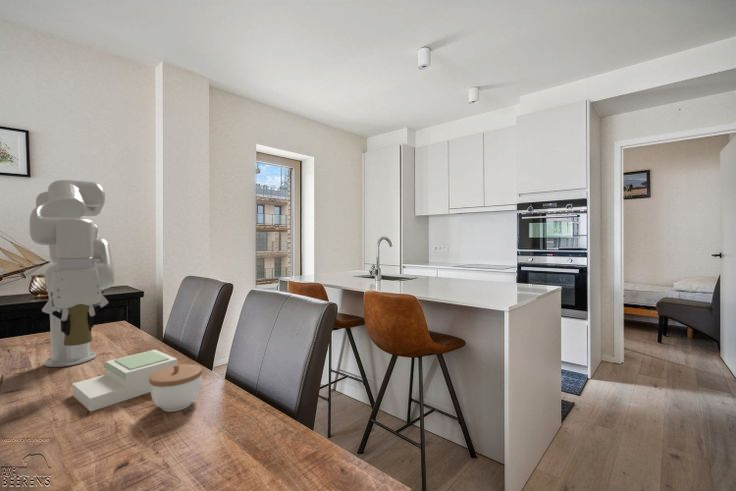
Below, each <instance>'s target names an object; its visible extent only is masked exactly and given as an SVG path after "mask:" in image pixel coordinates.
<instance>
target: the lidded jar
mask: <svg viewBox="0 0 736 491" xmlns="http://www.w3.org/2000/svg"><path fill="white" fill-rule="evenodd" d="M202 374H203V368H202V366H200V365H198V364H187V363H185V364H178V365H174V366H171V367H167V368H164V369H161V370H158V371H156V372H154V373H153V374H152V375H151V376H150V377H149V383H150V391H151V392H150V395H151V399H152V401H153V402H154V404H155V405H156V406H157V407H158V408H160V409H161V410H162V411H163V412H168V413H169V412H170V413H171V412H178V411H182V410H184V409H187V408H189V407H190V406H191V405H192V403H193V402H194V401H195V399H197V397H198V395H199V393H200V392H201V391H200V390H201V387H202V377H203V375H202Z"/></svg>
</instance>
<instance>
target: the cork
mask: <svg viewBox="0 0 736 491" xmlns="http://www.w3.org/2000/svg"><path fill="white" fill-rule="evenodd" d="M88 311H89V306H88V305H85V304H78V305H75V306H73V307H71V308H69V309H68V320H70V333H69V335H65V338H64V345H66V346H75V345H81V344H86V343H89V342H90V343H92V341H93V340H94V339H93V334H92V330H91V331H90V330H89V325H88Z"/></svg>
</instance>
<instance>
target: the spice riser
mask: <svg viewBox="0 0 736 491" xmlns="http://www.w3.org/2000/svg"><path fill="white" fill-rule="evenodd" d="M174 365H179V364H178V358H176V357H174V356H171V355H169V354H167V353H164V352H162V351H159V350H157V349H151V350H148V351H144V352H140V353H134V354H131V355H126V356H122V357H119V358H115V359H110V360H106V361H105V362H104V368H105V374H103V375H100V376H96V377H95V376H94V377H93V378H88V379H85V380H80V381H77V382H73V383H71V384H72V396H73V397H74V399H76V400H77V401H78V402H79V403H81V404H82V405H83V406H84V407H85V408H86V409H87V410H88V411H89V412H94V411H96V410H100V409H103V408H106V407H109V406H112V405H116V404H118V403H121V402H124V401H127V400H128V401H129V400H131V399H133V398H136V397H139V396H143V395H146V394H148V393H151V391H150V383H149V377H150V376H151V375H152V374H153V373H154V372H156V371H158V370H161V369H164V368H167V367H171V366H174Z"/></svg>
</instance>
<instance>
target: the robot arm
mask: <svg viewBox="0 0 736 491" xmlns="http://www.w3.org/2000/svg"><path fill="white" fill-rule="evenodd" d="M105 202H106V193H105V190H104V188H103V187H102V185H100V184H99V182H98V183H97V182H93V181H83V180H71V179H58V180H55V181H53V182H51V183H49V185H48V188H47V190H46V191H43V192H41V193H39V194H37V196H36V200H35V206H36V207H35V208H34V209H33V210H31V212H30V213H31V214H30V216H29V235H30V239H31V240H32V241H33V243H34V244H37V245H40V246H48V250H49V251H48V252H49V258H50V260H51V262H52V263H53V264H52V265H50V266H49V267H48V268H46V270H45V272H44V281H45V287H46V290H47V295H48V301H47V302H46V304H45V305H44V306H43V307H42V308H41V311H42V313H45V314H49V324H50V325H49V326H50V327H49V328H50V355H51V357H49V358H48V359H46V360H45V361H44V366H45V367H47V368H60V367H62V368H63V367H69V366H75V365H79V364H83V363H86V362H88V361H91V360H93V359H95V358H96V357H97V352H96V351H93V350H91V345H90V344H91V342H89V343H86V344H81V345H75V346H66V345H64V338H65V335H69V333H70V320H68V309H69V308H71V307H73V306H75V305H78V304H85V305H88V306H89V311H88V325H89V330H90V331H91V332H92V328H94V316H96V314H97V313H98V312H99V311H100V310H101V309H102V308H103V307H105V306H106V305H108V304H109V300H107V298H106V297H105V296H104V294H102V290H106V289H110V288H112V286H113V285H114V283H115V278H116V277H115V268H114V263H113V259H112V253H111V248H110V245H109V244H110V243H109V242H108V241H107V240H106V239H105V238H102V237H98V236H99V230H98V226H97V224H96V223H95V222H94V221H93V220H92V219H90V218H82V217H96V216H98V215H100V214H101V211H102V209H103V207H104V205H105V204H106V203H105Z"/></svg>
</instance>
